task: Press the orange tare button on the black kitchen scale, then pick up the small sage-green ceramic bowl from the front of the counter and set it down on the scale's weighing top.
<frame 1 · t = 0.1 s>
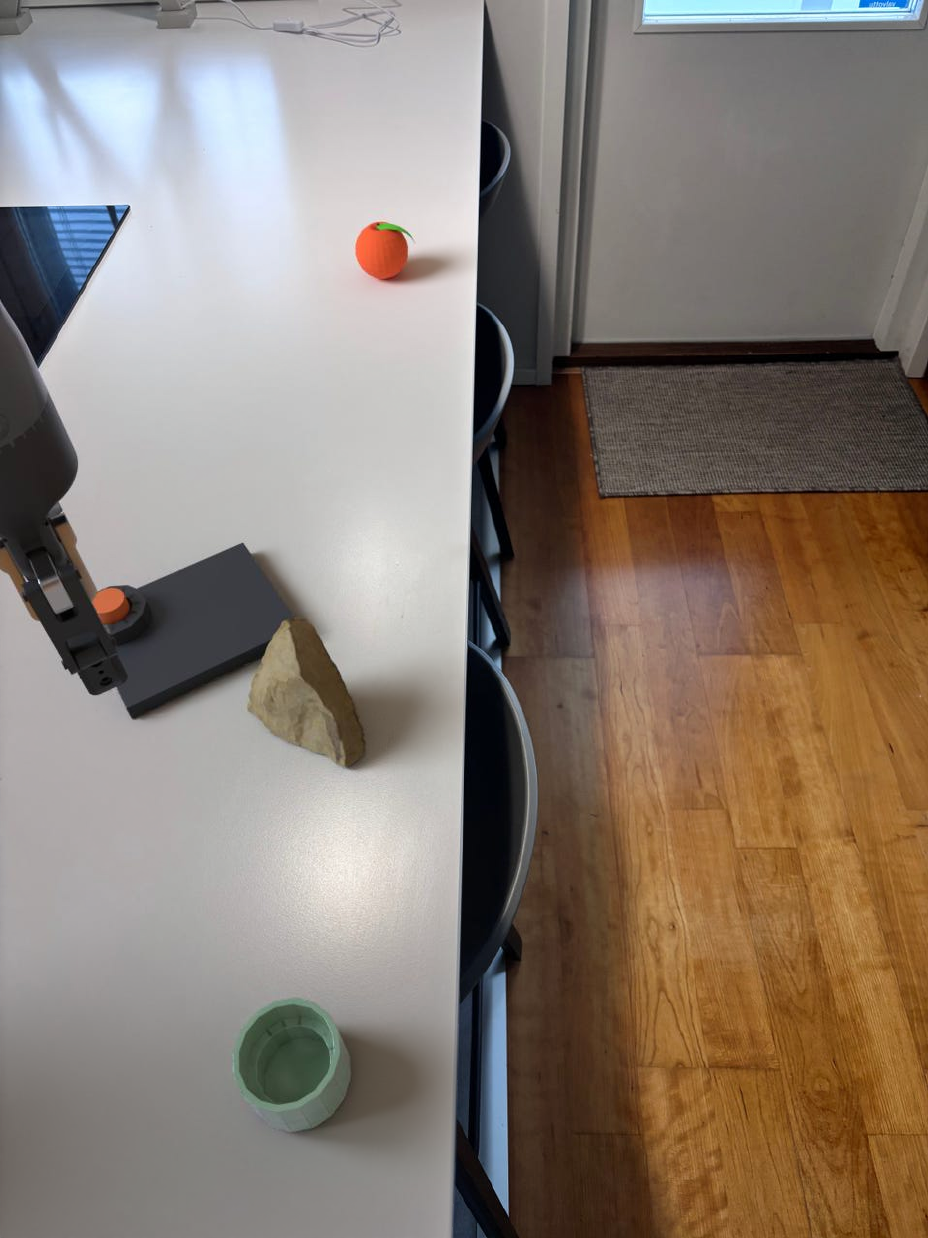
hand: (87, 637, 55), 23 cm above the counter, tool pointing down, fingers open, 8 cm apart
tare button: (110, 606, 84), point 4 cm above the counter, slide at 0.1 cm
rock: (309, 732, 78), on the counter
scale: (193, 630, 86), on the counter
clementine: (389, 276, 127), on the counter
bowl: (301, 1077, 60), on the counter
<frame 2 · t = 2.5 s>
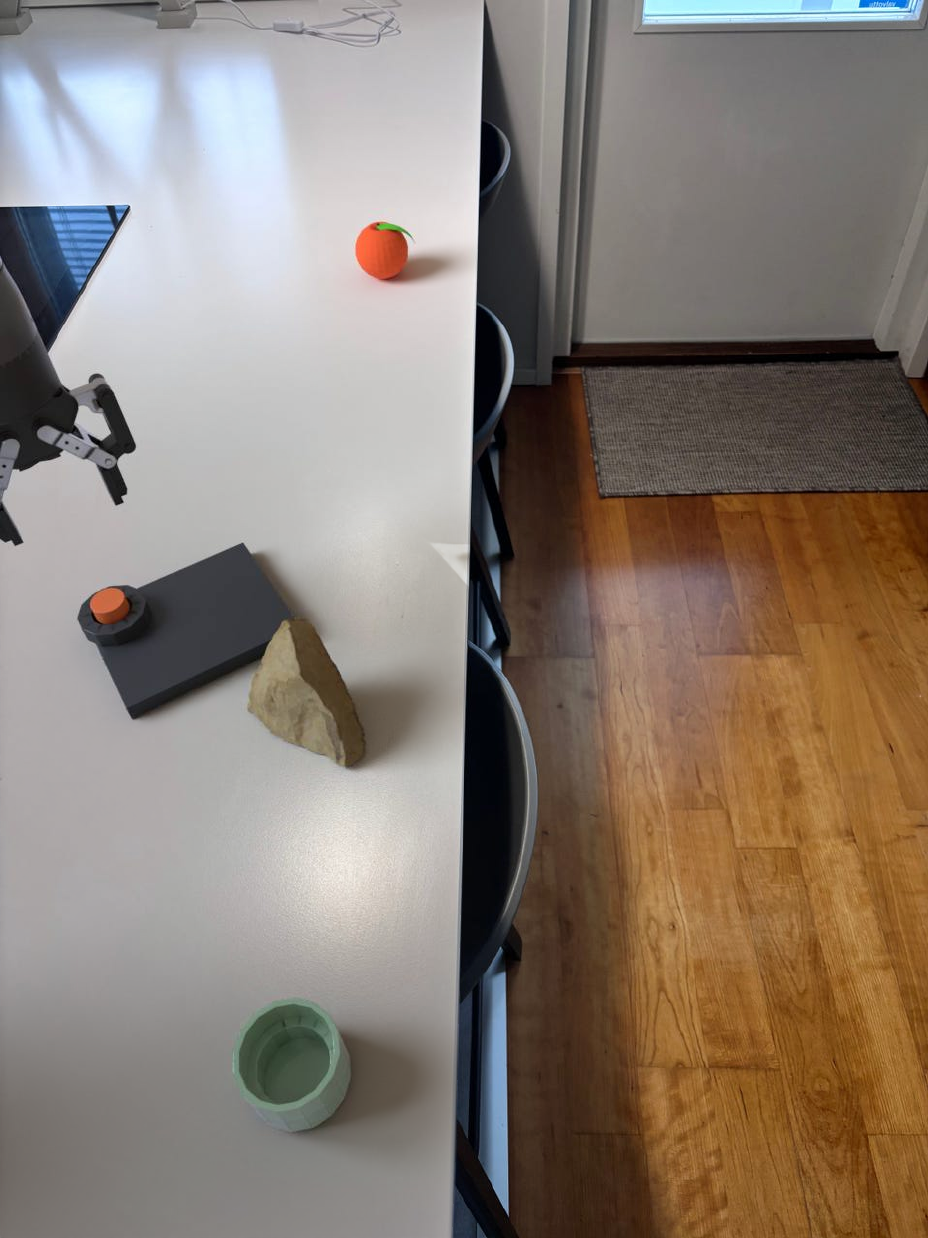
hand: (68, 518, 76), 14 cm above the counter, tool pointing down, fingers open, 7 cm apart
nothing on the counter moved.
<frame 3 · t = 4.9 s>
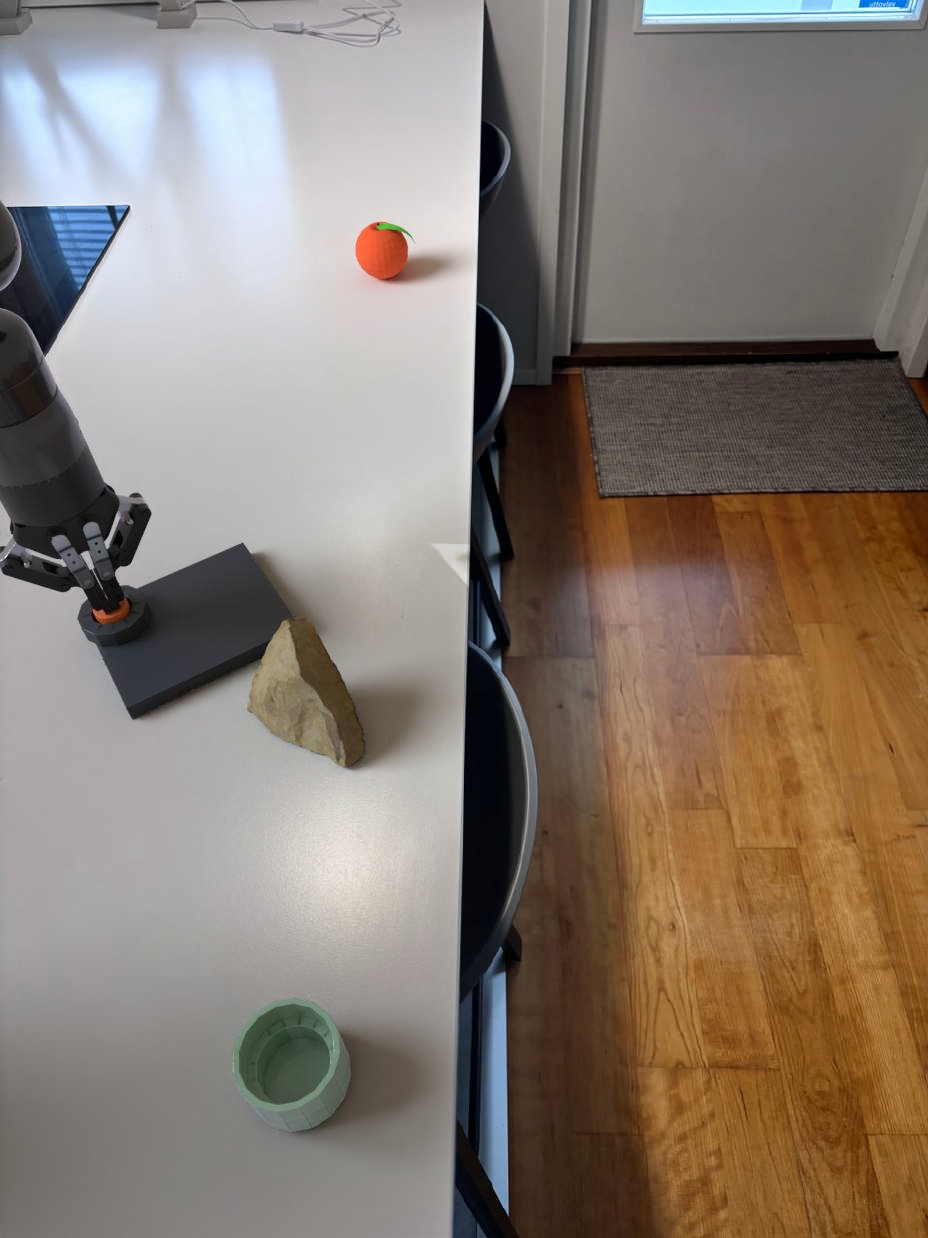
hand: (110, 605, 84), 4 cm above the counter, tool pointing down, fingers closed
tare button: (112, 611, 84), point 3 cm above the counter, slide at -0.6 cm, touching gripper
everything else where it was.
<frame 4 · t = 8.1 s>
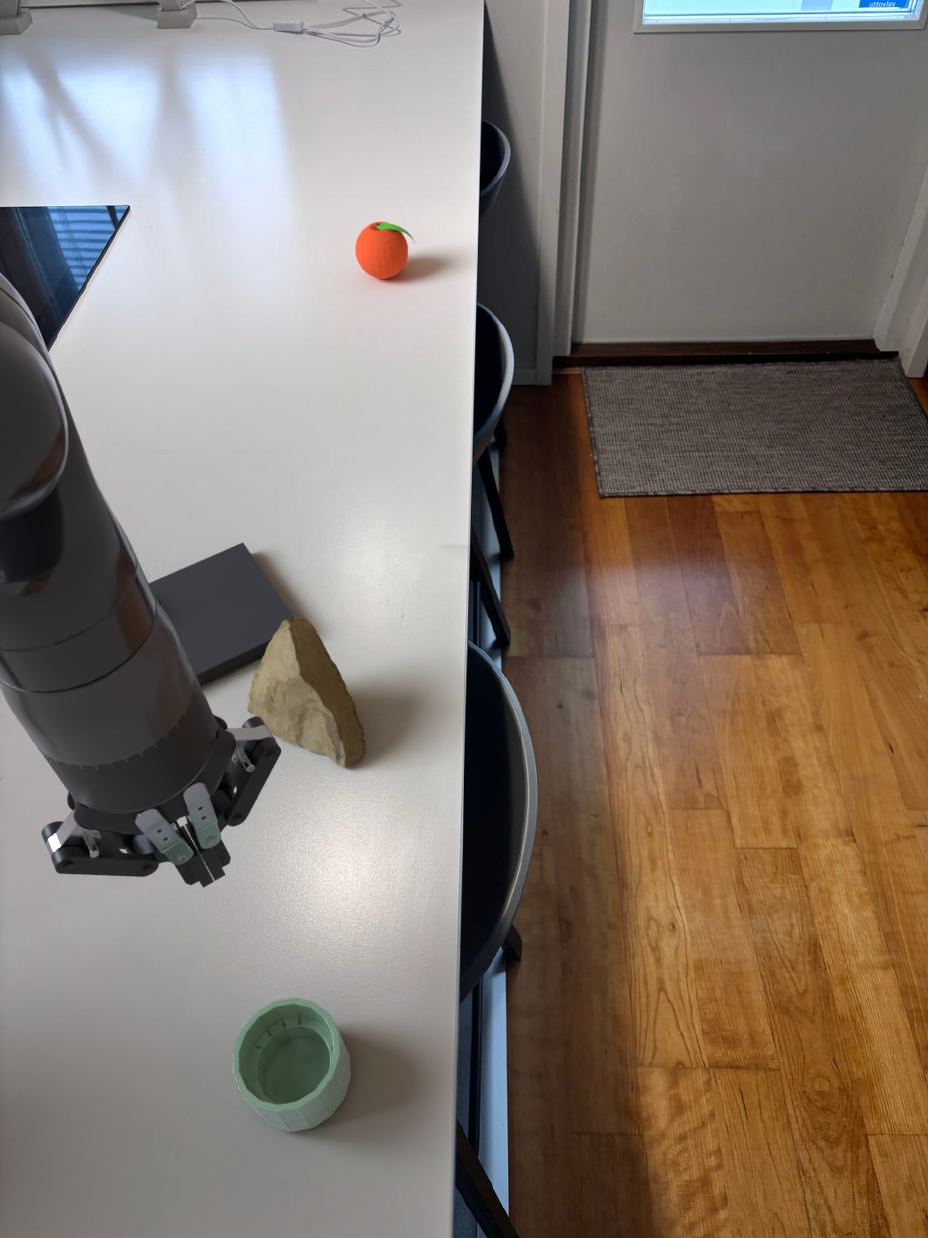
hand: (209, 869, 56), 13 cm above the counter, tool pointing down, fingers closed
tare button: (110, 606, 84), point 4 cm above the counter, slide at 0.1 cm
everything else where it was.
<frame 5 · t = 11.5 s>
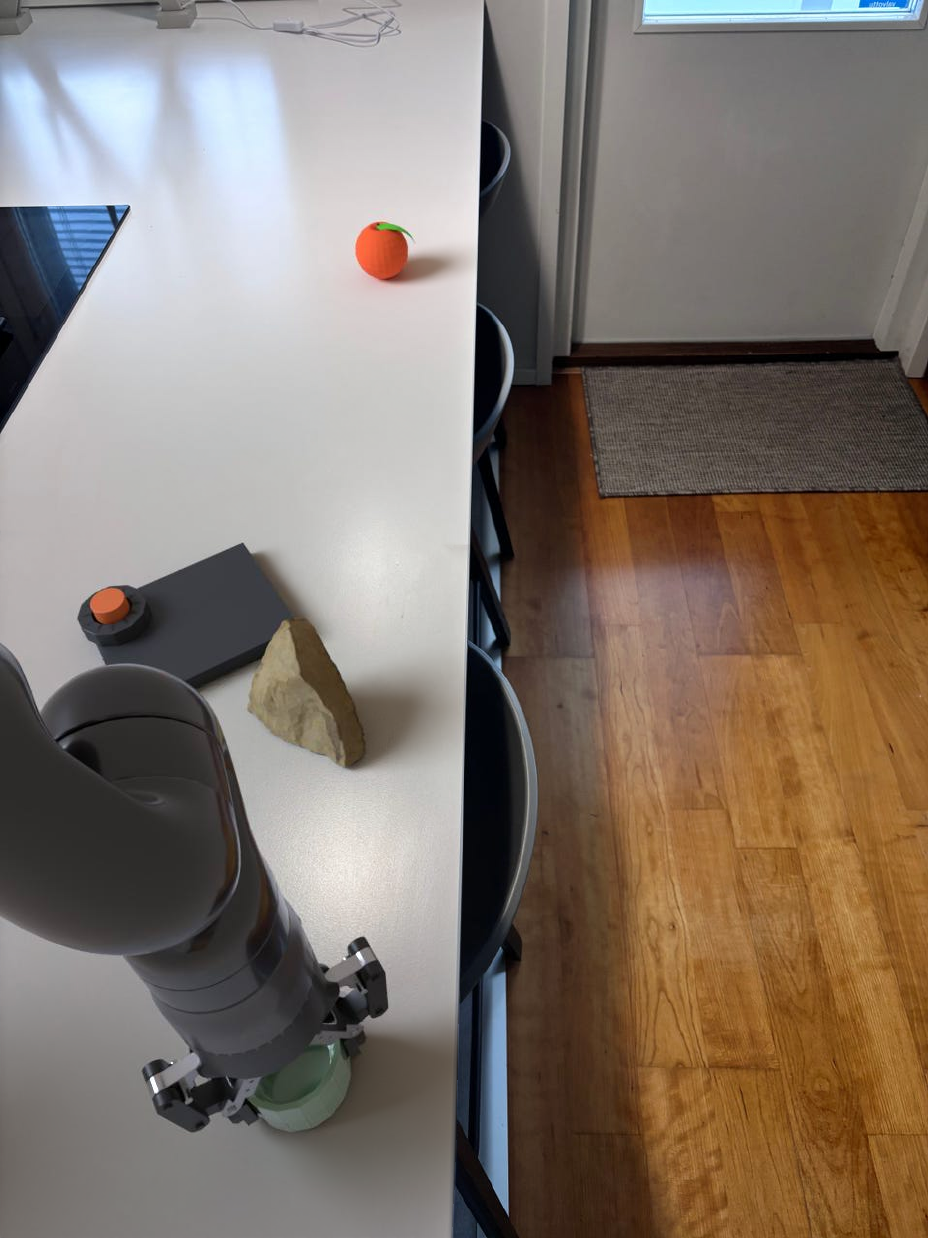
hand: (300, 1074, 60), 1 cm above the counter, tool pointing down, fingers closed on bowl, 6 cm apart
bowl: (301, 1077, 60), on the counter, touching gripper
everything else where it was.
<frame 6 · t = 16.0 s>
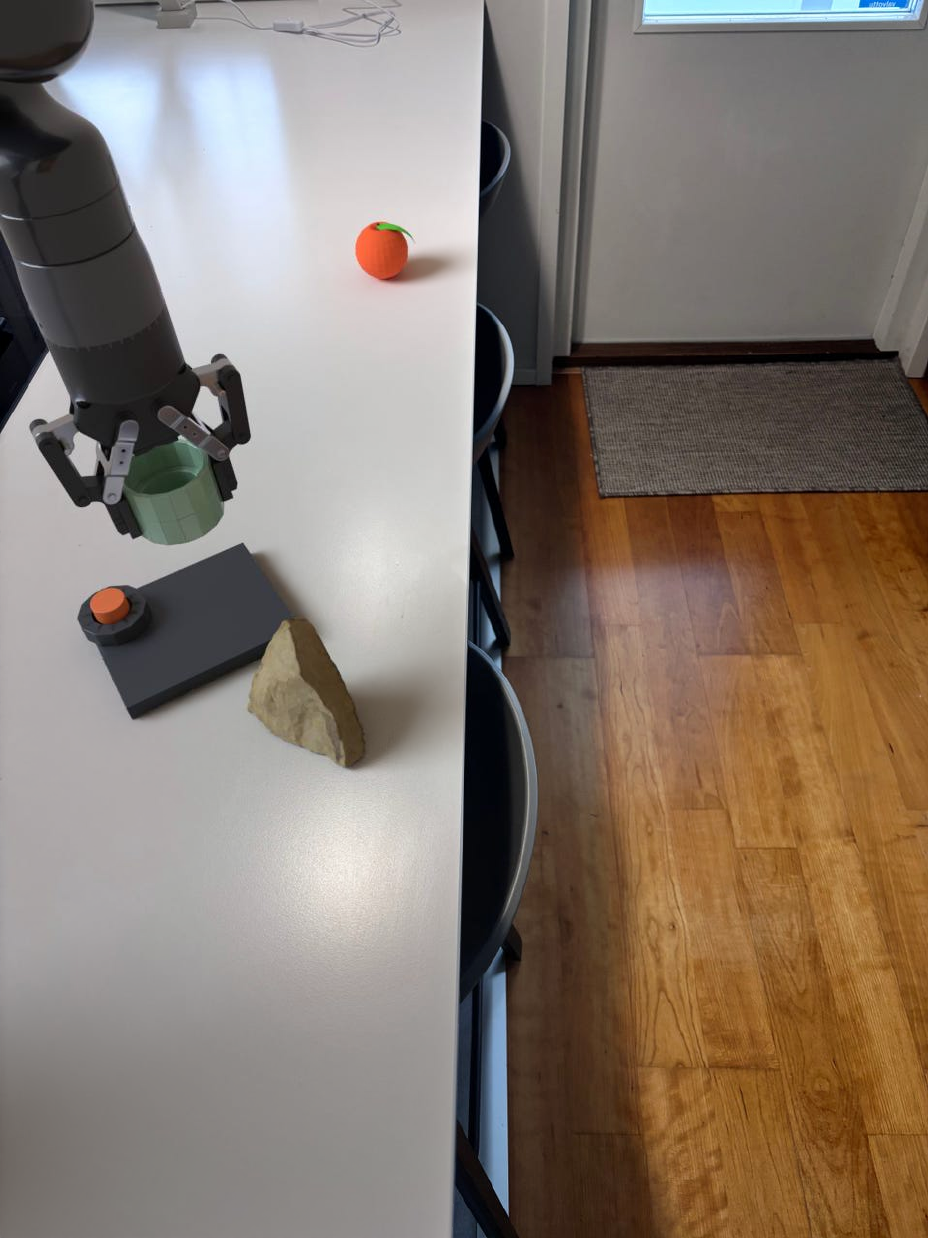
hand: (180, 511, 70), 18 cm above the counter, tool pointing down, fingers closed on bowl, 6 cm apart
bowl: (182, 519, 70), point 17 cm above the counter, touching gripper
everything else where it was.
when the fingers open (2 cm above the counter, at t = 20.4 s): bowl stays where it is, resting on scale.
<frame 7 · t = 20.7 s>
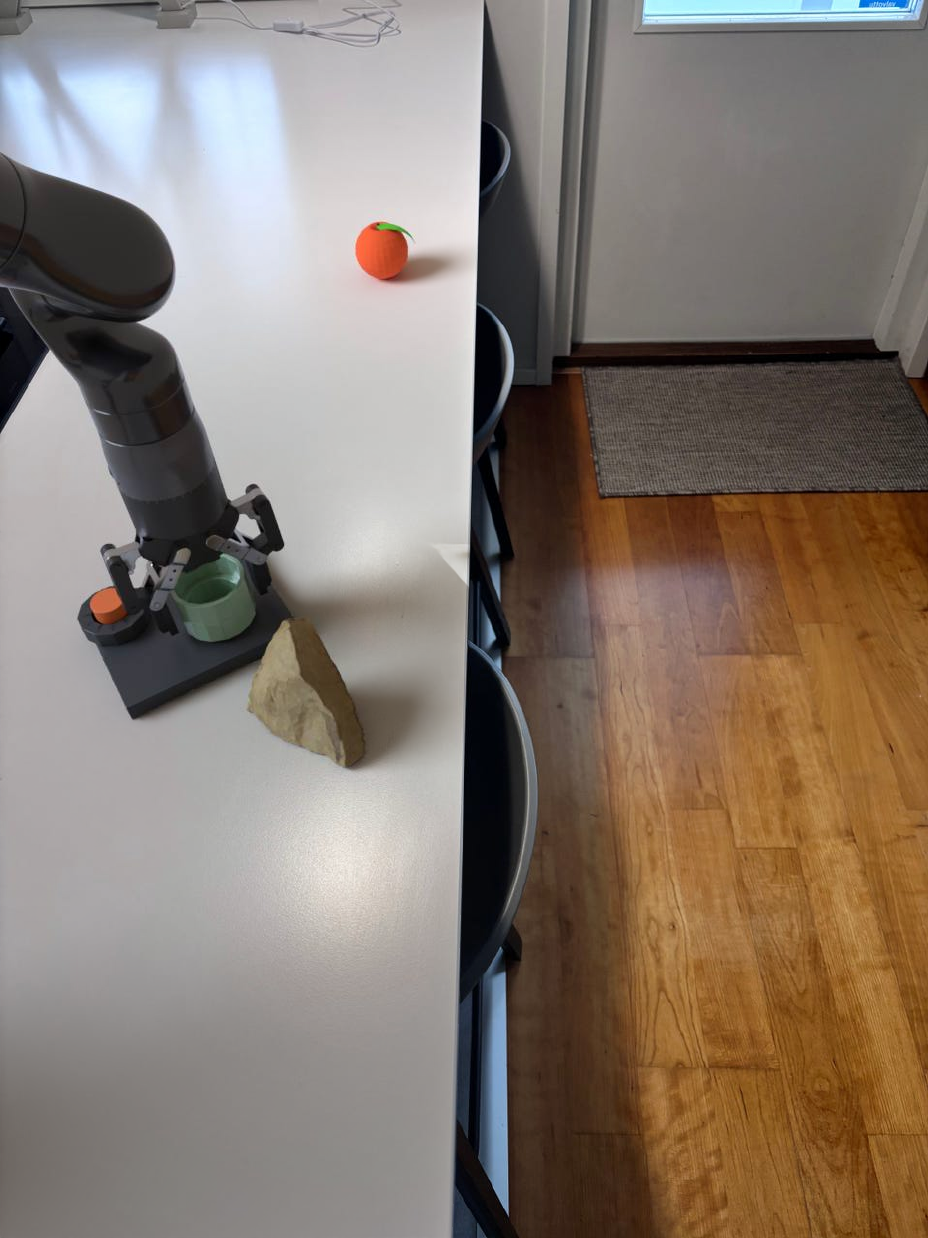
hand: (217, 608, 84), 3 cm above the counter, tool pointing down, fingers open, 8 cm apart
bowl: (221, 618, 85), point 2 cm above the counter, touching scale
everything else where it was.
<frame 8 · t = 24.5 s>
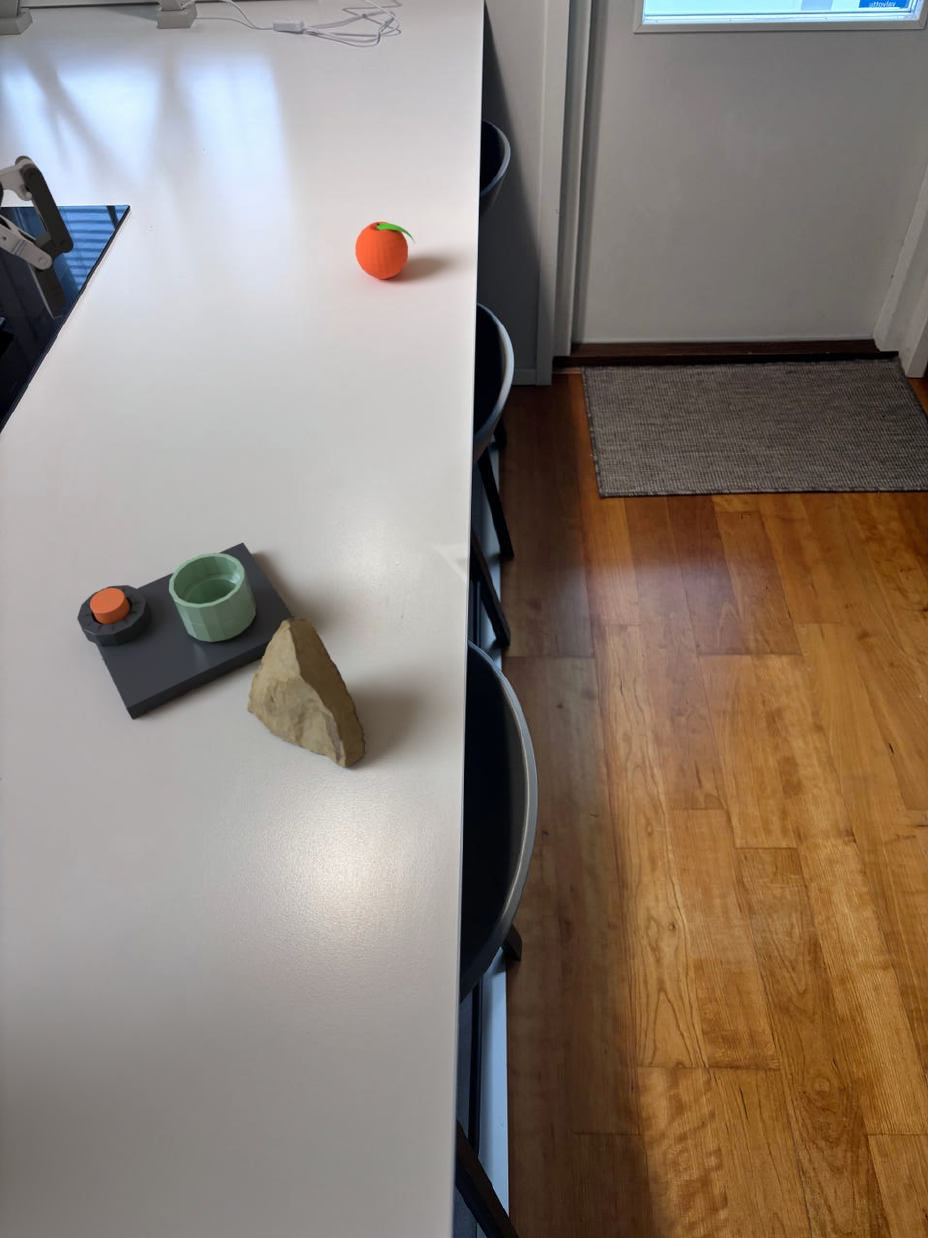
nothing on the counter moved.
at the end: tare button pushed in 0.7 cm at the most during the clip, back to where it started at the end; bowl inside the target area on the scale (1.8 cm from its centre), point 1.6 cm above the scale's base; bowl touching scale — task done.
